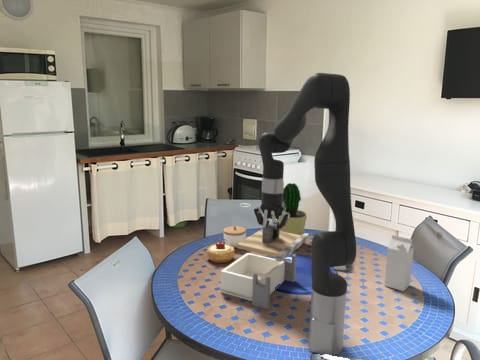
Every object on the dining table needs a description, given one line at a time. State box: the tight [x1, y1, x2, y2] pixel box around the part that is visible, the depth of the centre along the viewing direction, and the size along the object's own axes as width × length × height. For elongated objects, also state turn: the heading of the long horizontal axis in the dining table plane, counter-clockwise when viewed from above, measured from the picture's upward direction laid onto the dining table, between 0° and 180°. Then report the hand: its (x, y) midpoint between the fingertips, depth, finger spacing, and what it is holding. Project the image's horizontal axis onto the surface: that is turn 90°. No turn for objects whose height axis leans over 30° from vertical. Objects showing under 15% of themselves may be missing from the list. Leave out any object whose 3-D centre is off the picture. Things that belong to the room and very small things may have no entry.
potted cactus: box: [279, 182, 308, 235], centre depth 188 cm, size 15×15×30 cm
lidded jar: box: [223, 225, 247, 249], centre depth 185 cm, size 11×11×9 cm
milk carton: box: [384, 234, 415, 292], centre depth 145 cm, size 7×7×19 cm
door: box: [236, 222, 310, 262], centre depth 139 cm, size 25×18×6 cm
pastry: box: [206, 238, 236, 264], centre depth 169 cm, size 12×12×9 cm
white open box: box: [220, 252, 297, 310], centre depth 143 cm, size 25×20×10 cm
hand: (270, 237), depth 139 cm, fingers closed on door, 2 cm apart
